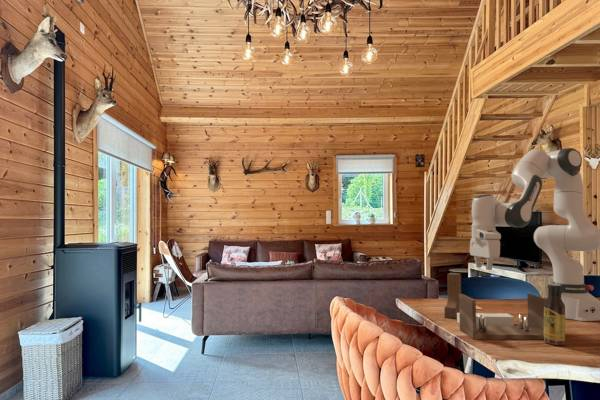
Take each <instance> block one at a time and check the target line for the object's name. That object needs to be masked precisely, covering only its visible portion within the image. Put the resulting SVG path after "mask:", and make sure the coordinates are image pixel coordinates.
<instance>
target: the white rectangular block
mask: <svg viewBox="0 0 600 400" xmlns="http://www.w3.org/2000/svg"><path fill="white" fill-rule="evenodd" d="M478 315H482V317H487V326H515V317H514V316H513V315H511V314H509V313H507V312H505V313H502V312H501V313H498V312H496V313H494V312H492V313H491V312H485V313H484V312H476V326H478ZM456 322H457V323H458V324H459V325H460V313H457V318H456ZM482 326H483V323H482Z"/></svg>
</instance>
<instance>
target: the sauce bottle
mask: <svg viewBox="0 0 600 400" xmlns="http://www.w3.org/2000/svg"><path fill="white" fill-rule="evenodd" d="M561 289H562V285H560V284H553V282H552V283H548V284H547V298H546V299H547V300H546V303H545V306H544V339H543V341H544V342H545V343H546V344H548V345H549V344H550V345H552V346H564V345H565V343H566V318H565V305H564V303H563V301H562V299H561Z"/></svg>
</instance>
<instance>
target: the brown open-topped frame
mask: <svg viewBox="0 0 600 400" xmlns="http://www.w3.org/2000/svg"><path fill="white" fill-rule="evenodd" d="M546 300H547V298H544V297H541V296H539V295H535V294H532V293H527V316H524V314H518V325H514V326H487V317H482V315H478V326H476V313H477V307H476V306H477V300H476V299H475V298H473V297H470V296H468V295H466V294H463V293H461V294H459V310H460V324H459V331H460V332H462V333H463V334H465V335H466V336H467V337H469V338H471V339H472V340H544V306H545V303H546ZM482 323H483V326H482Z"/></svg>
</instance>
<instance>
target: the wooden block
mask: <svg viewBox="0 0 600 400" xmlns="http://www.w3.org/2000/svg"><path fill="white" fill-rule="evenodd" d="M461 279H462V274H461V273H459V272H450V273H447V302H446V305H445V306H444V318H447V319H457V313H460V310H459V294H462V280H461Z"/></svg>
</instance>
